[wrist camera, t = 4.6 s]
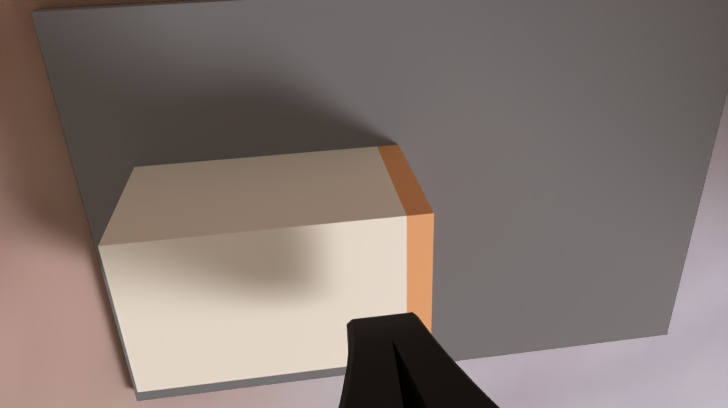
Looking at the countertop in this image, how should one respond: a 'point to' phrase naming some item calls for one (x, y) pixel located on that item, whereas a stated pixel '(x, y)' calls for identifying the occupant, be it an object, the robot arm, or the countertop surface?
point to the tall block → (264, 261)
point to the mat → (431, 136)
